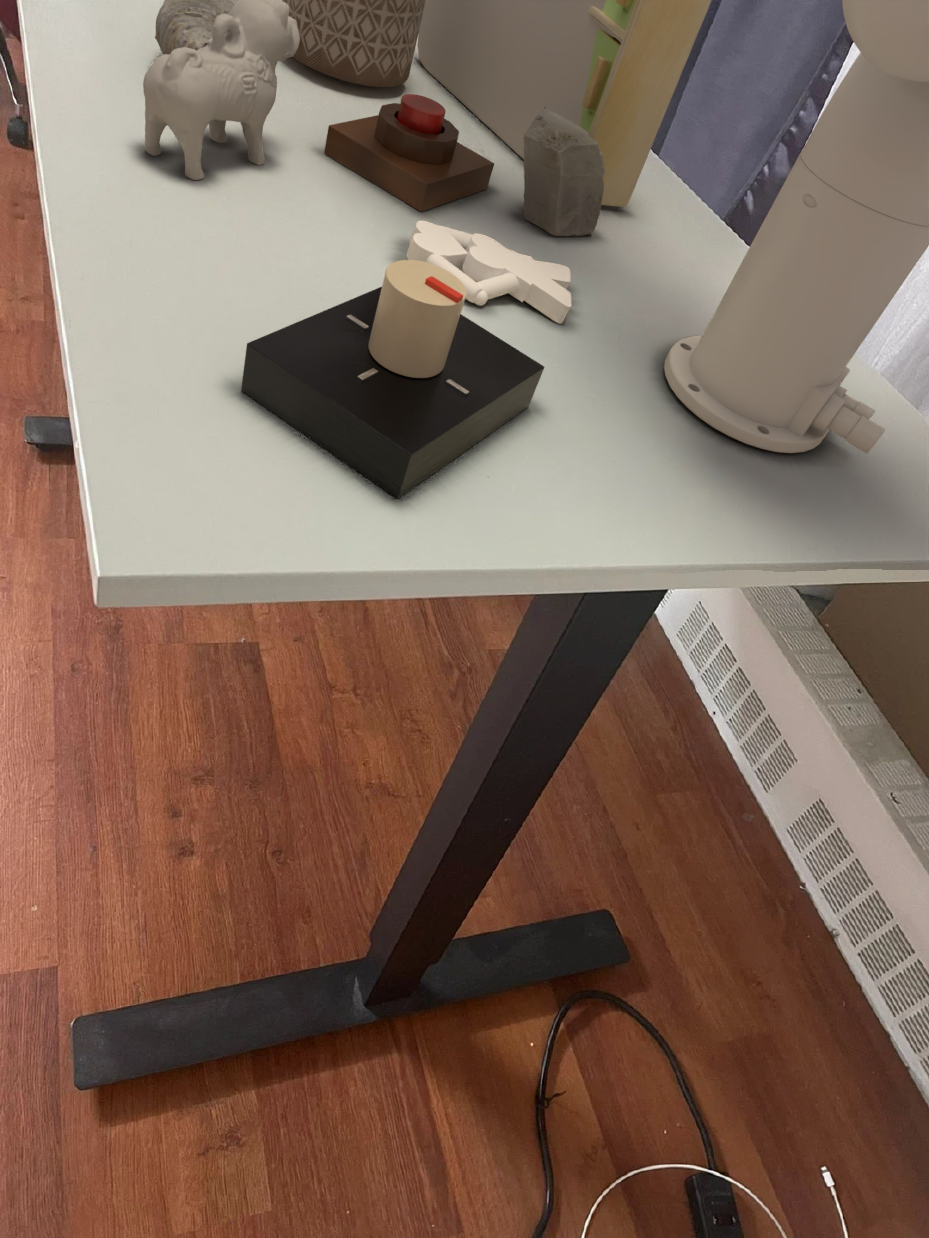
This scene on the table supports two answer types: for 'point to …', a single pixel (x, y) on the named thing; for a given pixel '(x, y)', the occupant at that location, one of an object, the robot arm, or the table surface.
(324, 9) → the planter
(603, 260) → the table surface
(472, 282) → the white abstract figurine
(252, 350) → the panel
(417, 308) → the knob
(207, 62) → the dog figurine
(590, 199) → the mineral specimen
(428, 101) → the button
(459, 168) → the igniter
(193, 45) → the seashell
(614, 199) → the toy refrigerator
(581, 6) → the grey rectangular panel
